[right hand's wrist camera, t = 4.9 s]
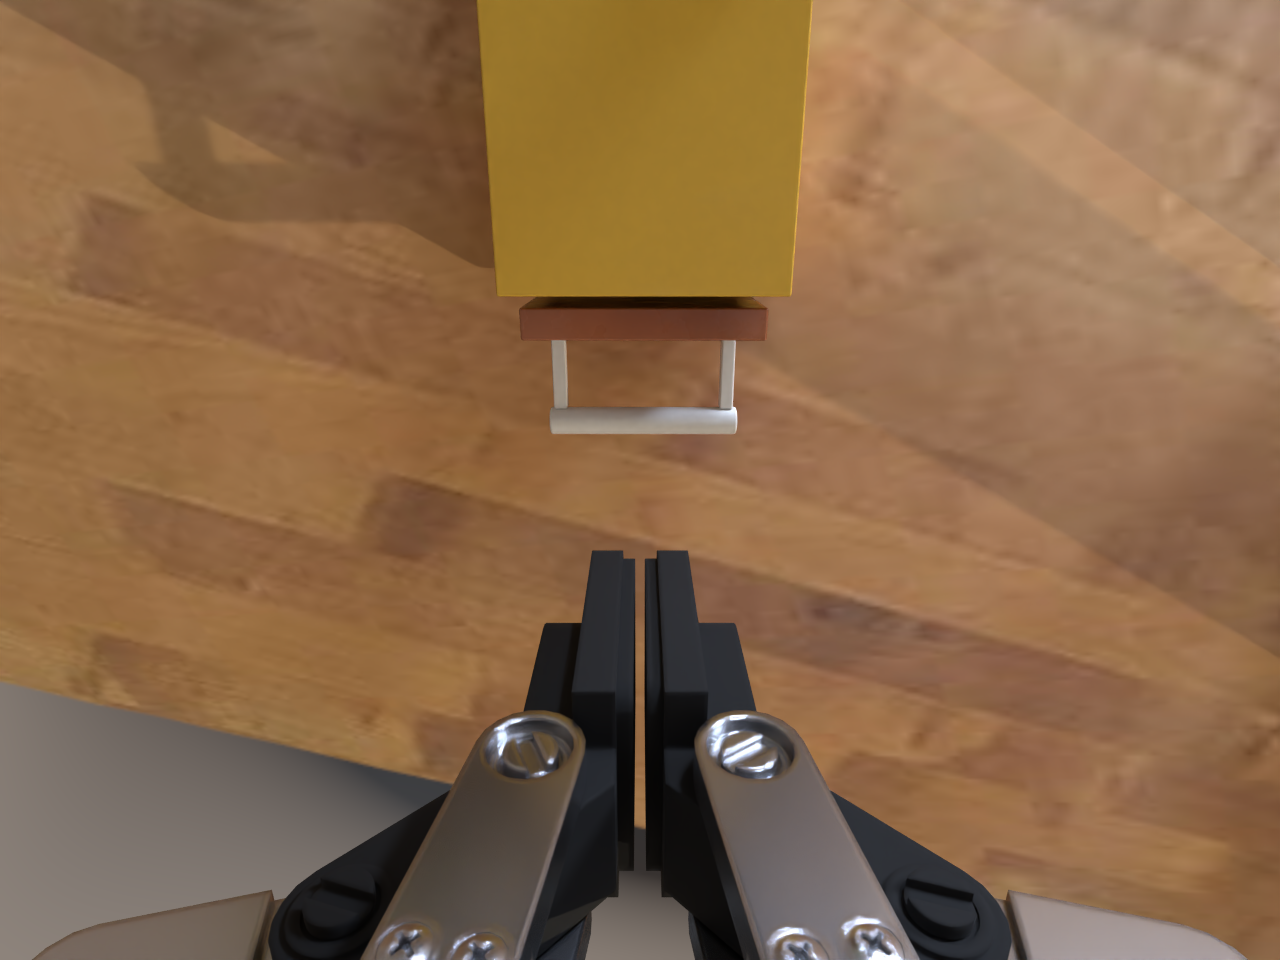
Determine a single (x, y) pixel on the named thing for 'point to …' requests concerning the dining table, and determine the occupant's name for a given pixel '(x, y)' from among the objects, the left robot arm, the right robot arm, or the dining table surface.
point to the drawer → (643, 322)
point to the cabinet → (644, 144)
